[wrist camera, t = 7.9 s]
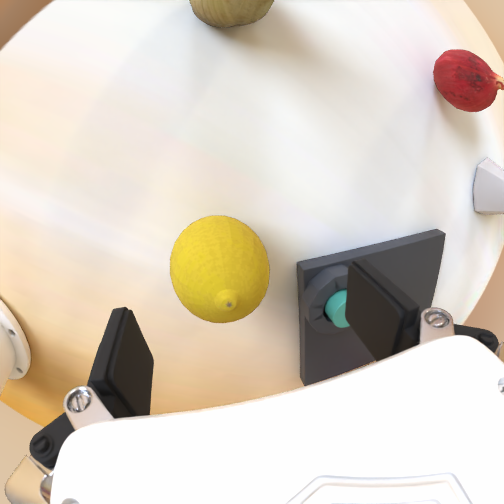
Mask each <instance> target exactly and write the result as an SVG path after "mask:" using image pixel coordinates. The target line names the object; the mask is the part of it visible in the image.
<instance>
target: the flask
mask: <svg viewBox="0 0 504 504" xmlns="http://www.w3.org/2000/svg"><path fill="white" fill-rule="evenodd" d="M473 195H474V207H475V211H476V212H479V213H481V214H484V215H494V214H504V170H503V169H502V168H501V167H500V166H498V165H497V164H496V163H494V162H493V161H492V160H490V159H489V158H486V159H485V160H484V161H482V162H481V163H480V164H479V165H477V171H476V176H475V182H474V187H473Z"/></svg>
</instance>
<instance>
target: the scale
mask: <svg viewBox="0 0 504 504" xmlns="http://www.w3.org/2000/svg"><path fill="white" fill-rule="evenodd" d="M445 235H446V233H444V232H442V231H440V230H438V229H434V230H430V231H427V232H423V233H419V234H415V235H411V236H407V237H402V238H398V239H394V240H390V241H386V242H382V243H378V244H374V245H369V246H365V247H361V248H357V249H353V250H348V251H344V252H340V253H335V254H331V255H327V256H322V257H318V258H314V259H309V260H305V261H300V262H297V273H298V295H299V324H300V378H301V380H302V382H303V384H304V386H307V385H310V384H314V383H317V382H320V381H323V380H325V379H328V378H331V377H334V376H337V375H340V374H342V373H345V372H348V371H350V370H353V369H355V368H358V367H360V366H363V365H365V364H368V363H370V362H373V361H375V359H374V357H373V356H372V355H371V353H370V352H369V350H368V349H367V348H366V346H365V345H364V344H363V342H362V341H361V340H360V338H359V337H358V336H357V334H356V333H355V332H354V330H353V329H352V328H351V326H348V327H345V328H340V327H337V326H335V325H334V323H333V322H332V321H331V319H330V318H329V317H328V315H327V314H326V312H325V304H326V301H327V300H328V298H329V297H330V296H331V295H333V294H334V293H335V292H336V291H338V290H341V289H347V278H348V267H349V265H351V263H352V261H356V260H360V259H366V260H367V261H368V262H369V263H371V264H372V265H373V266H374V267H375V268H377V269H378V270H379V271H380V272H381V273H383V274H384V275H385V276H386V277H387V278H388V279H390V280H391V281H392V282H393V283H394V284H395V285H397V286H398V287H399V288H400V289H401V290H402V291H403V292H405V293H406V294H407V295H408V296H409V297H410V298H411V299H412V300H414V301H415V302H416V303H417V304H418V305H419V306H420V308H419V310H420V311H421V312H423V311H424V310H426V309H427V308H431V304H432V300H433V296H434V292H435V288H436V284H437V279H438V274H439V270H440V264H441V259H442V254H443V248H444V241H445Z"/></svg>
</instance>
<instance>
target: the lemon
mask: <svg viewBox="0 0 504 504" xmlns="http://www.w3.org/2000/svg"><path fill="white" fill-rule="evenodd" d="M269 271H270V269H269V262H268V258H267V253H266V250H265V248H264V246H263V244H262V243H261V241H260V239H259V237H258V236H257V235H256V234H255V233H254V232H253V231H252V230H251V229H250V228H249V227H248V226H247V225H246V224H244V223H242V222H240V221H239V220H237V219H235V218H231V217H227V216H209V217H205V218H201V219H199V220H197V221H195V222H193V223H192V224H190V225H189V226H188V227H187V228H186V229H185V230H184V231H183V232H182V233H181V234H180V236H179V237H178V239H177V240H176V242H175V244H174V247H173V250H172V253H171V257H170V276H171V280H172V283H173V287H174V290H175V292H176V294H177V296H178V297H179V299H180V301H181V302H182V304H183V305H184V306H185V307H186V308H187V309H188V310H189V311H190V312H191V313H192V314H194V315H195V316H197V317H199V318H201V319H203V320H206V321H209V322H213V323H228V322H234V321H236V320H239V319H242V318H244V317H245V316H247V315H249V314H250V313H251V312H252V311H254V310H255V309H256V308H257V307H258V305H259V304H260V303H261V301H262V299H263V298H264V296H265V294H266V291H267V288H268V284H269Z"/></svg>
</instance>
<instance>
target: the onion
mask: <svg viewBox="0 0 504 504" xmlns="http://www.w3.org/2000/svg"><path fill="white" fill-rule="evenodd" d="M433 75H434V81H435V84H436V86H437V89H438V90H439V91H440V93H441V94H442V95H443V97H444V98H445V99H446V100H447V101H448V102H450V103H451V104H452V105H453V106H454V107H456V108H457V109H460V110H463V111H468V112H478V111H482V110H484V109H486V108H487V107H489V106H490V105H491V104H492V103H493V101H494V100H495V97H496V95H497V90H498V89H501V90H504V80H503V77H500V76H499V75H497V74H496V73H494V72H493V71H492V70H491V68H490V67H489V66H488V64H487V63H486V62H485V61H484V60H482V59H481V58H480V57H478V56H477V55H475V54H473V53H472V52H470V51H466V50H448V51H445V52H444V53H443V54H442V55H441V56H440V57H439V58H438V59H437V60H436V62H435V66H434V71H433Z"/></svg>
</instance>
